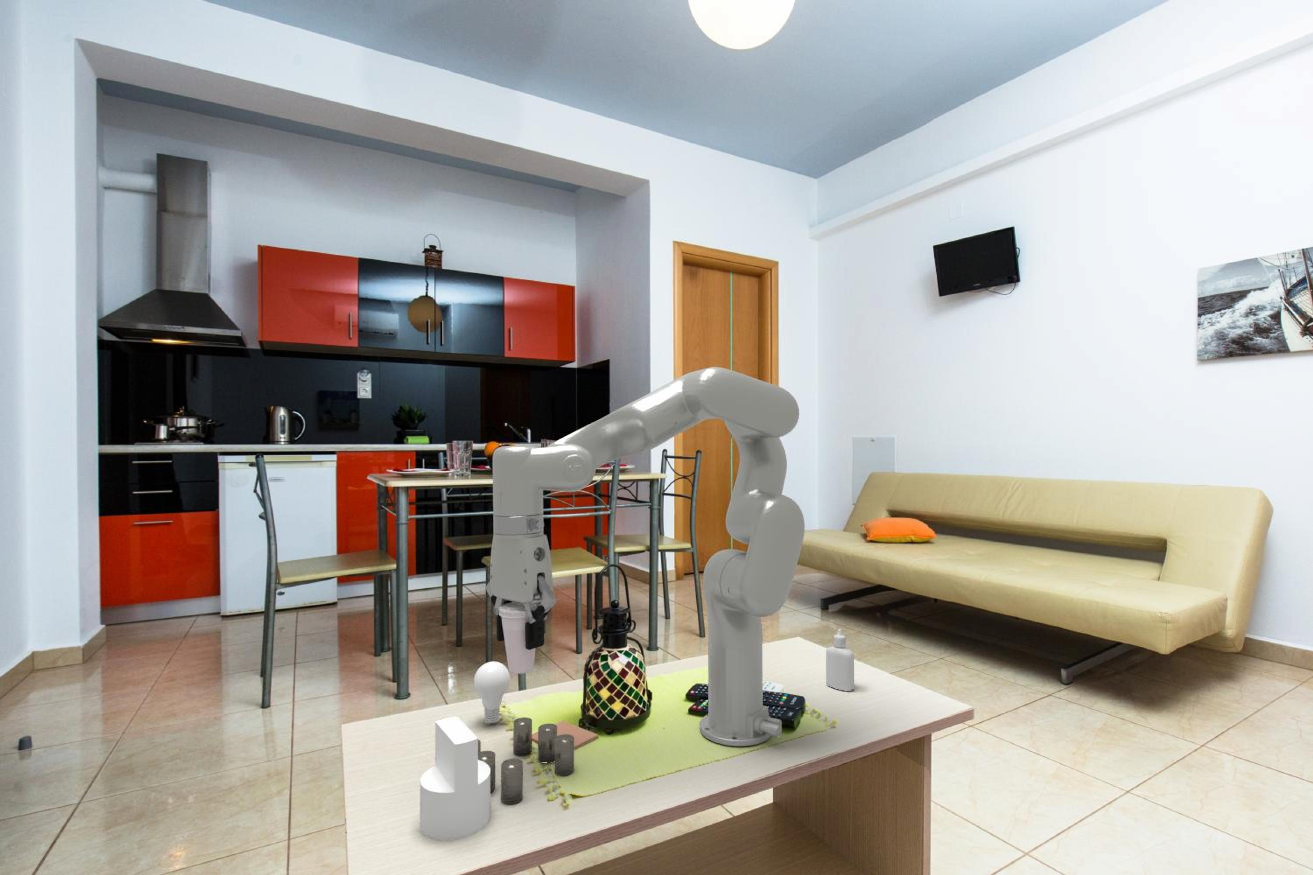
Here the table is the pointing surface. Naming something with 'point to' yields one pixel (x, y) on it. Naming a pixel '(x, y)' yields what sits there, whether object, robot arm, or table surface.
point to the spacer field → (548, 752)
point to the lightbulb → (491, 688)
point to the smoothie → (516, 637)
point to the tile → (579, 734)
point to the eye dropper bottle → (840, 664)
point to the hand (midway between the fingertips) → (520, 641)
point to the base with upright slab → (454, 785)
